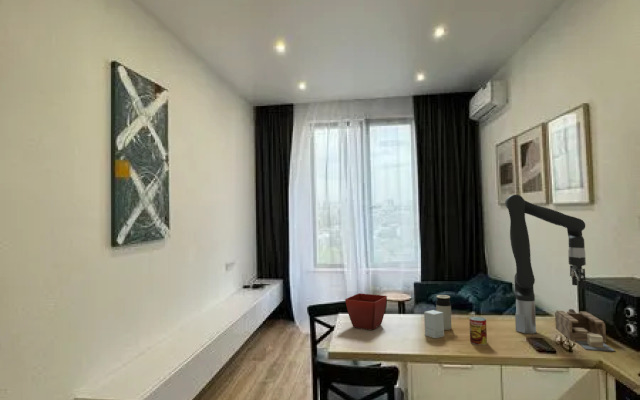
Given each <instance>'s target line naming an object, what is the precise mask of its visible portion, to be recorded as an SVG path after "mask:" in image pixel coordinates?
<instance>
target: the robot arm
mask: <svg viewBox="0 0 640 400" xmlns="http://www.w3.org/2000/svg"><path fill="white" fill-rule="evenodd" d="M504 205H505V207H506V208H507V211H508V213H509V219H510V222H509V223H510V224H509V225H510V226H509V239H510V247H511V250H512V254H513V256H514V260H515V266H516V267H515V270H516V272H515V273H514V290H515V291H514V292H515V307H516V311H515V313H514V314H515V315H514V316H515V317H514V318H515V331H516V332H518V333H522V334H530V335H532V334H536V333H537V325H536V319H537V317H536V301H535V300H536V296H535V292H534V290H535V289H534V284H535V283H536V281H535V280H536V278H535V275H534V272H533V267H532V262H531V261H532V260H531V244H530V243H531V242H530V237H529V236H530V235H529V230H528V226H527V225H528V224H527V223H526V222H527V221H526V215H529V216H532V217H535V218H538V219H540V220H543V221H545V222H547V223H550V224H553V225H556V226H561V227H563V228H565V229H566V231H567V236H568V250H567V251H568V253H567V254H568V255H567V256H568V264H569V277H571V284H572V286H577V288H578V289H584V282H585V281H586V269H585V268H583V267H584V266H586V265H587V263H586V249H585V239H584V237H583V231H584V230H585V228H586V223H585V221H584V220H582V219H581V218H579V217H578V218H577V217H575V216H571V215H569V214H566V213H562V212H561V211H558V210H554V209H552V208H548V207H545V206H541V205H537V204H534V203H531V202H529V201H527V200H525V199H524V198H523V197H522V196H521V195H519V194H511V195H509V196H508V197H507V198H505V201H504Z"/></svg>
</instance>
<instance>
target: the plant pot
mask: <svg viewBox="0 0 640 400" xmlns="http://www.w3.org/2000/svg"><path fill="white" fill-rule="evenodd" d="M387 300H388V296H387V295H381V294H373V293H372V294H370V293H356V294H354V295H351V296H349V297H347V298H345V299H344V302H345V305H346V310H347V313H348V317H349V320H350V322H351V325H352V326H353V328H354V327H356V329H361V328H362V330H369V331H370V330H371V331H374V330H375V329H377V328H378V327H380V326H381V325H382V323H383V319H384V316H385V312H386V306H387Z"/></svg>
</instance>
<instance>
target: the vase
mask: <svg viewBox="0 0 640 400" xmlns="http://www.w3.org/2000/svg"><path fill="white" fill-rule="evenodd" d="M566 313H577V312H576V310H575V309H574V308H569V309H568V311H566Z"/></svg>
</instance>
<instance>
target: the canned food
mask: <svg viewBox="0 0 640 400" xmlns="http://www.w3.org/2000/svg"><path fill="white" fill-rule="evenodd" d="M468 321H469V340H470V341H469V342H470V343H471V344H473V345H477V346H485V345H487V344H488V337H487V336H488V335H487V318H486V317H483V316H476V315H475V316H470V317H468Z"/></svg>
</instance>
